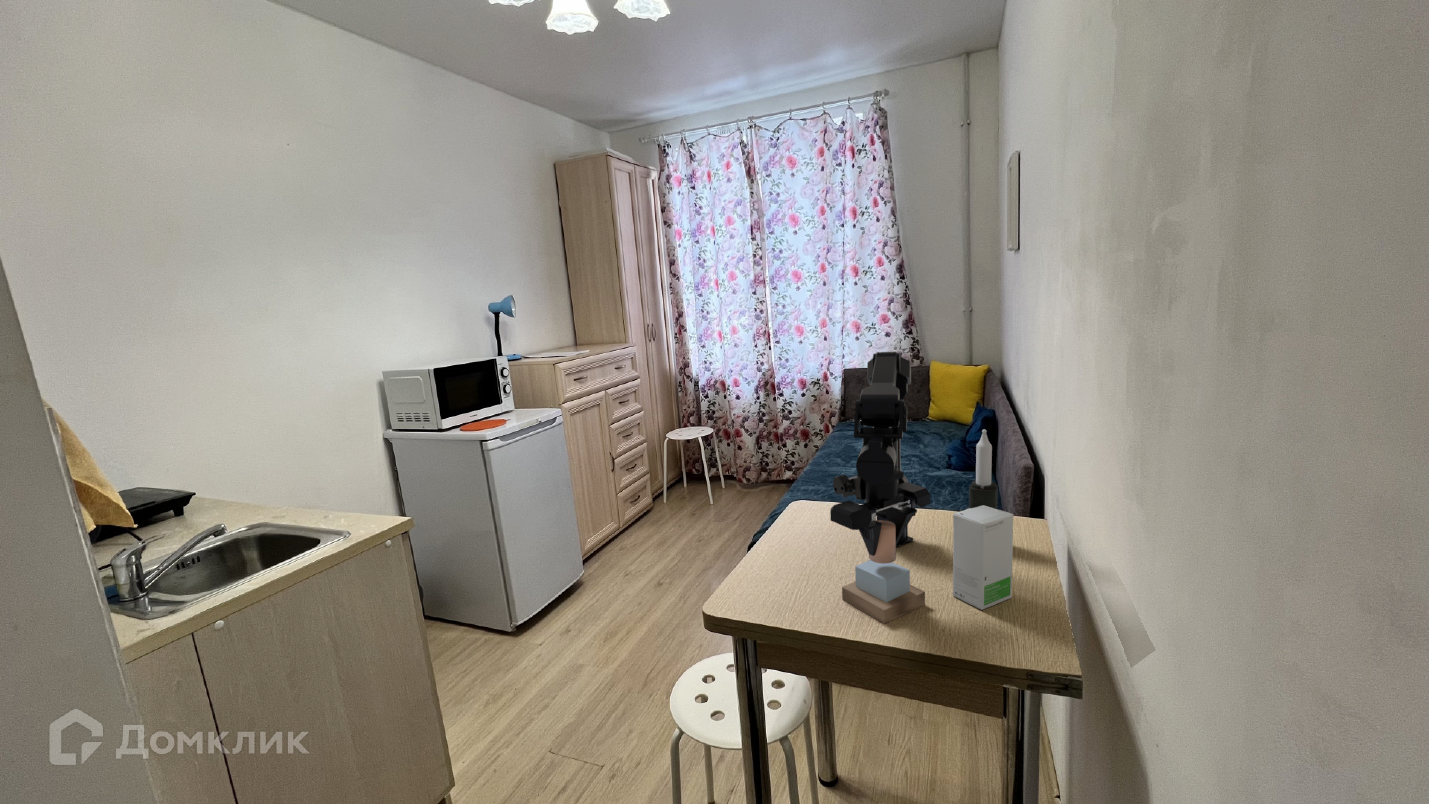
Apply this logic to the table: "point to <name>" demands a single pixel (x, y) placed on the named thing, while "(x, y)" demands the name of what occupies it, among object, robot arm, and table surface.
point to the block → (883, 579)
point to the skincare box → (982, 556)
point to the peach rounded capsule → (885, 544)
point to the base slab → (880, 608)
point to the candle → (983, 477)
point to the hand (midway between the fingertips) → (882, 550)
